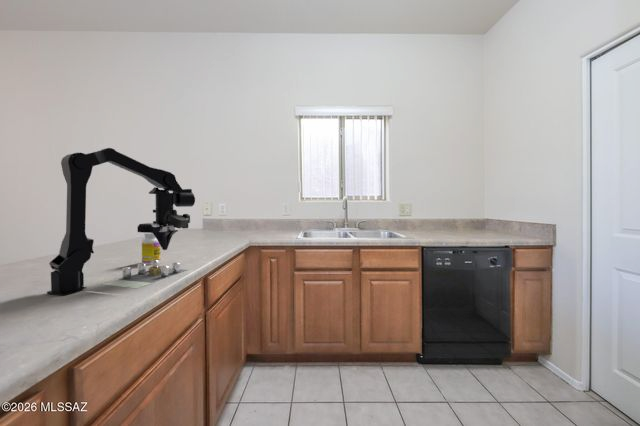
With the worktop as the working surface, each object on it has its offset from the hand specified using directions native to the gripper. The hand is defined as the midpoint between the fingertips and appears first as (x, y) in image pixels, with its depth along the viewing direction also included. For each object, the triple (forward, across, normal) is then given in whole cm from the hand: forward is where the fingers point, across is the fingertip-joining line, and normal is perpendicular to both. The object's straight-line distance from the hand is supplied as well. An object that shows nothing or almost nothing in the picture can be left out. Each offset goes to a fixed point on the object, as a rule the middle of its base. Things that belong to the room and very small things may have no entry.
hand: (164, 249), depth 107 cm
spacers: (+8, -5, 0) cm, 10 cm away
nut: (+8, -4, 0) cm, 9 cm away
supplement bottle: (+8, +10, +16) cm, 20 cm away
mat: (+8, -7, 0) cm, 11 cm away
